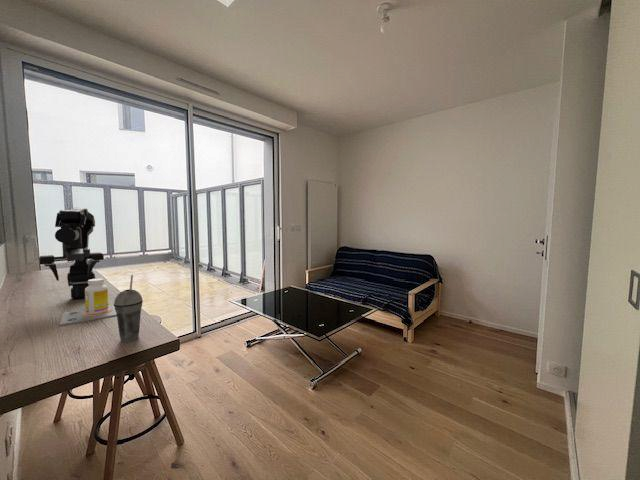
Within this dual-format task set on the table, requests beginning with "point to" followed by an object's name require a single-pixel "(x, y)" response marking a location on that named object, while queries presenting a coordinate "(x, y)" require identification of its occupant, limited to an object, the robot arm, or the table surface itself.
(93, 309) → the supplement bottle
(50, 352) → the table surface
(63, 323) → the plate
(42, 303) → the table surface
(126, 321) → the beverage cup
